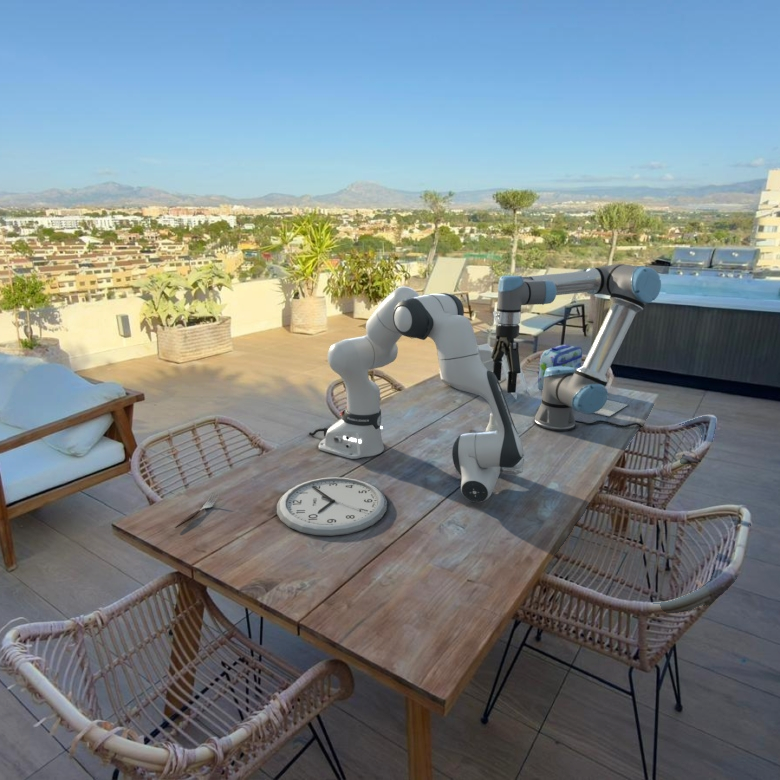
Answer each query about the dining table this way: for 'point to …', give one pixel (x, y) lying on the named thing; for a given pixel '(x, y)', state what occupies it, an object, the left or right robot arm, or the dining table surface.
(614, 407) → the invitation card
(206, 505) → the fork
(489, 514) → the dining table surface
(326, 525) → the wall clock
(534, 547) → the dining table surface
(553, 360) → the lunch box
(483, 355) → the white plastic object
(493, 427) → the bottle
